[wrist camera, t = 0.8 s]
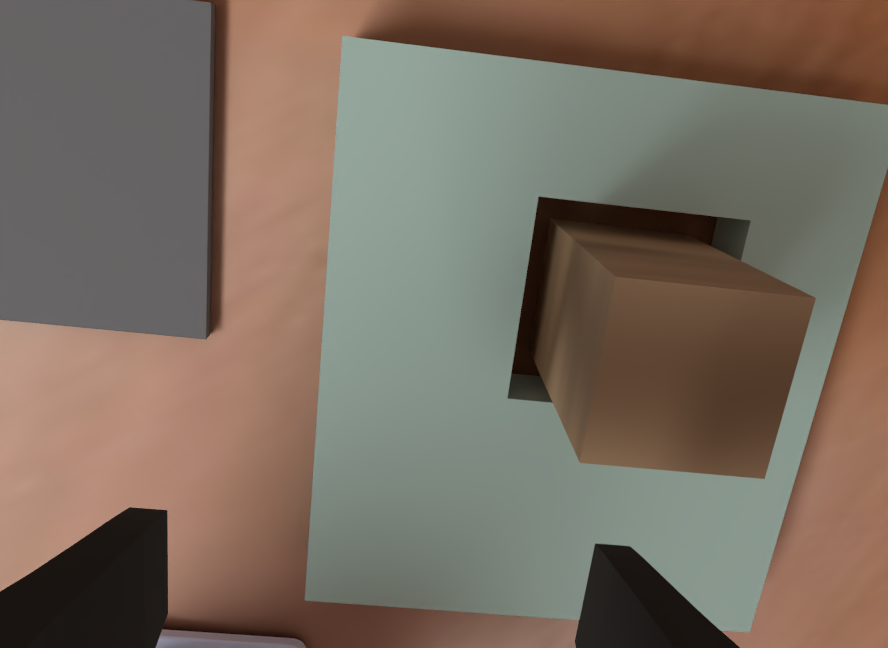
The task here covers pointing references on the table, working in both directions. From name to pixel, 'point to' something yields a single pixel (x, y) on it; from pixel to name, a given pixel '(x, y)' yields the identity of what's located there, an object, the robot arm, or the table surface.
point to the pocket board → (498, 313)
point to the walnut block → (664, 349)
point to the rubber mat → (107, 164)
